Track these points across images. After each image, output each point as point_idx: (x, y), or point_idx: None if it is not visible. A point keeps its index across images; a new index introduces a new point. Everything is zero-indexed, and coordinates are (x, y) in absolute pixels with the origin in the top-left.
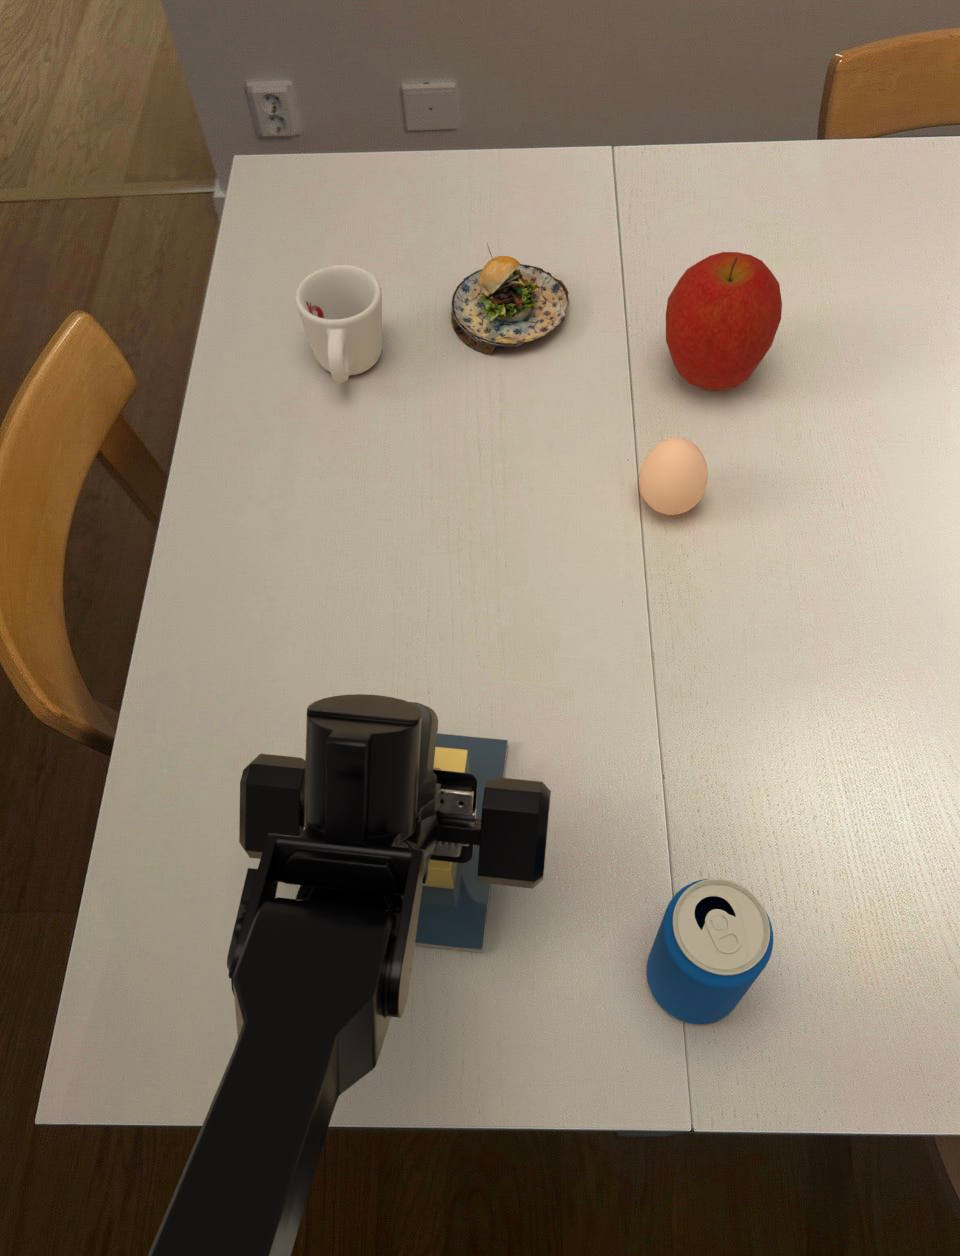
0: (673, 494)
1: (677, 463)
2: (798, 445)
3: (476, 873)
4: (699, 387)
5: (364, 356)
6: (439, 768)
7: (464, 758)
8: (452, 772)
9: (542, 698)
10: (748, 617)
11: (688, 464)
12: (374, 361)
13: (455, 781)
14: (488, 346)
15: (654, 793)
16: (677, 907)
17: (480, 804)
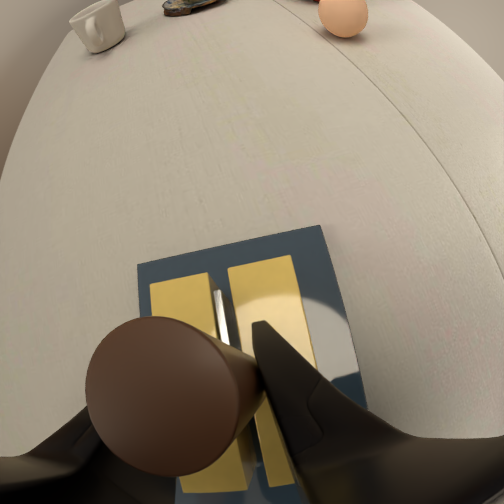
0: (353, 11)
1: None
2: (387, 17)
3: None
4: (319, 1)
5: (112, 32)
6: (265, 322)
7: (291, 271)
8: (500, 489)
9: (332, 169)
10: (438, 86)
11: None
12: (120, 35)
13: (492, 499)
14: (187, 10)
15: (477, 236)
16: None
17: (320, 323)
